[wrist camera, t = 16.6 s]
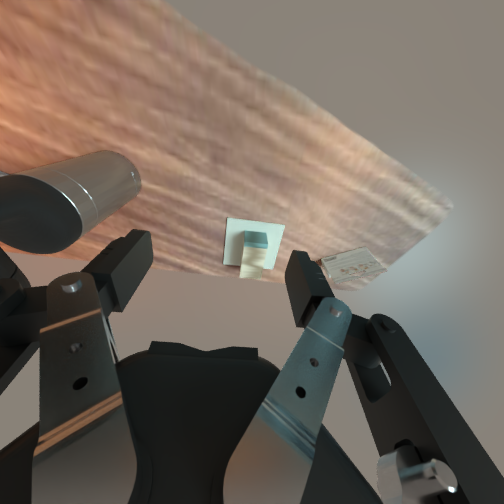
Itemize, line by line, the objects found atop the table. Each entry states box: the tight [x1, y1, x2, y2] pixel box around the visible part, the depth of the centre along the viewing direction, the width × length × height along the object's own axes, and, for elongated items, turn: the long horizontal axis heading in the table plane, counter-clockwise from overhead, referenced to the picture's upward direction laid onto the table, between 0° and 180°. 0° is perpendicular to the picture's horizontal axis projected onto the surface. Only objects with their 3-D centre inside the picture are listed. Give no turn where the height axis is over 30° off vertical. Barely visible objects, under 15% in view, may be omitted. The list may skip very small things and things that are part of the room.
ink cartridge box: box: [321, 247, 387, 285], centre depth 47 cm, size 2×11×10 cm, turn 109°
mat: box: [223, 217, 285, 269], centre depth 48 cm, size 13×13×1 cm
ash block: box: [240, 230, 268, 279], centre depth 47 cm, size 5×5×10 cm
